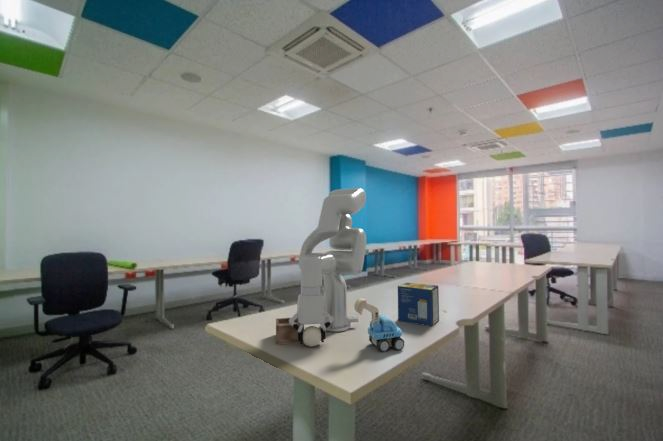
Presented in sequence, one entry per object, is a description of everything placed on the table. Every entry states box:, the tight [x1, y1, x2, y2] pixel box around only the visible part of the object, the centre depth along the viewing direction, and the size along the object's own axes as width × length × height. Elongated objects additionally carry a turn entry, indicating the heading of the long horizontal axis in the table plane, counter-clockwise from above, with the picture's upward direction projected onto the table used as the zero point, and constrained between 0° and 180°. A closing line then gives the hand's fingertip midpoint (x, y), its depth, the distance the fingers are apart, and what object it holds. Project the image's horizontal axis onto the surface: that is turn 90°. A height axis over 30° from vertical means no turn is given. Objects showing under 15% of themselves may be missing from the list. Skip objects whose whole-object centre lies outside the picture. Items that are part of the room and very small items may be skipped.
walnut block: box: [275, 317, 305, 345], centre depth 115 cm, size 10×10×6 cm
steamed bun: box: [303, 325, 321, 347], centre depth 108 cm, size 7×7×7 cm
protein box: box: [397, 282, 440, 327], centre depth 137 cm, size 10×15×16 cm
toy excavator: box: [354, 297, 405, 353], centre depth 106 cm, size 9×17×17 cm, turn 106°
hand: (311, 341), depth 108 cm, fingers closed on steamed bun, 6 cm apart
